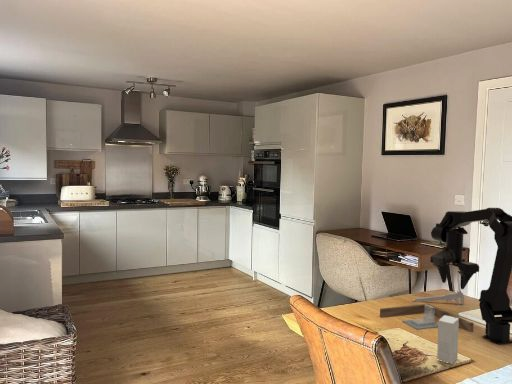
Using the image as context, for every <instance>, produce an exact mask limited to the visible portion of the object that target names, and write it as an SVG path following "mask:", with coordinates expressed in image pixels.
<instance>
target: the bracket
mask: <svg viewBox="0 0 512 384" xmlns="http://www.w3.org/2000/svg"><path fill="white" fill-rule="evenodd" d="M425 304H426V305H424V313H423V317H422V318H414V319H413V318H412V319H410V320H411V323H413V324H415V325H417V326H425V325H433V324H434V322H435V318H436V316H435V308H434V307H435V306H434V307H432V306H433V305H432V306H430V305H431V304H430V305H427V304H428V303H425Z"/></svg>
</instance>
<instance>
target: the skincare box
mask: <svg viewBox="0 0 512 384" xmlns="http://www.w3.org/2000/svg"><path fill="white" fill-rule="evenodd" d="M437 323H438V327H437V330H438V331H437V351H436V353H437V354H436V355H437V356H436V357H437V359H439V360H442V361H445V362H448V363H451V364H452V363H453V362H454V363H455V361H456V360H457V359H458V357H459V356H458V350H459V328H460V327H459V318H455V317H451V316H446V315H444V316H443V317H442V318H441V319H440V318H439V320H438V321H437ZM437 359H436V360H437ZM454 363H453V364H454ZM451 364H450V365H451ZM453 364H452V365H453Z"/></svg>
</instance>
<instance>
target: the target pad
mask: <svg viewBox="0 0 512 384" xmlns="http://www.w3.org/2000/svg"><path fill="white" fill-rule="evenodd" d="M411 320H412V319H408V320H402V321H401V322H402V323H404V324H405V325H407V326H410V327H412V328H413V329H415V330H416V331H417V330H426V329H433V328H438V322H436V321H434V324H433V325H425V326H417V325H415V324H413V323H411Z"/></svg>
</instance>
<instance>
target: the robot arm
mask: <svg viewBox="0 0 512 384" xmlns="http://www.w3.org/2000/svg"><path fill="white" fill-rule="evenodd" d="M484 221H487V222H488V227H489V228H490V230H492V232H493V233H494V234H493V235H494V236H493V237H494V241H495V243H496V246H497V248H496V249H497V250H496V254H495V258H494V263H493V269H492V273H491V277H490V282H489V287H488V288H487V289H482V290H481V291H480V294H479V299H478V302H479V309H480V314H481V319H482V321H484V322H485V331H484V332H485V334H482V336H481V337H482V338H483V339H485V340H488V341H490V342H493V343H494V344H497V345H504V344H511V343H512V339H511V337H510V336H511V324H512V308H511V305H510V304H511V303H510V302H511V299H510V297H509V294H508V291H507V290H508V287H509V282H510V277H511V273H512V215H511V214H509V213H507V212H506V211H504V210H503V209H502V208H500V207H487V208H483V209H476V210H470V211H465V210H464V211H462V210H461V211H460V210H459V211H457V210H455V211H449V210H448V211H446V212H445V215H444V216H443V217H442V219H441V221H440V222H439V223H437V222H436V223H435V226H434V227H433V228H432V229H431V231H430V237H431V238H432V239H433V240H434V241H438V242H442V243H445V244H446V245H444V246H443V247H442V251H438V252H437V253H435V254H432V255H431V256H430V260H429V261H430V263H432V265H433V266H434V267H436V268H437V270H438V273H439V276H440V279H441V283H443V284H445V283H446V282H447V279H448V273H449V269H450V266H454V267H457V269H458V270H457V273H458V274H459V276H460V280H459V281H460V282H459V283H460V289H461V290H464V289H465V288H466V286H467V285H468V282H469V281H470V280H471V278H472V277H473V276H474V274H477V273H479V272H480V265H479V264H478V263H476V262H472V261H467V262H466V258H464V257H463V256H464V255H463V253H464V252H466V248H465V247H464V235H468V233H469V232H468V231H467V230H466V228H464V227H466V226H468V225H470V224H472V223H477V222H484Z"/></svg>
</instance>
